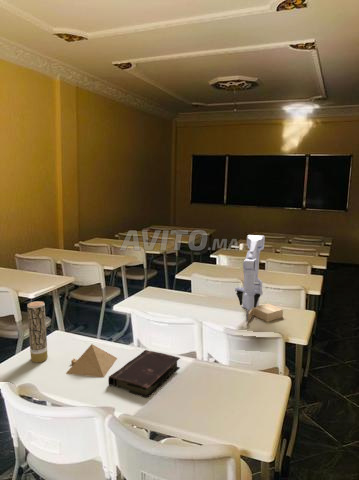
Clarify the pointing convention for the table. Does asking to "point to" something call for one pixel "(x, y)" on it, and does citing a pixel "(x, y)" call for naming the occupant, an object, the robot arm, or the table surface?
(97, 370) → the model pyramid
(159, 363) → the diary
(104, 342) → the table surface
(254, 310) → the carton
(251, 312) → the carton flap
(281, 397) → the table surface
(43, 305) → the bark-patterned cylinder
